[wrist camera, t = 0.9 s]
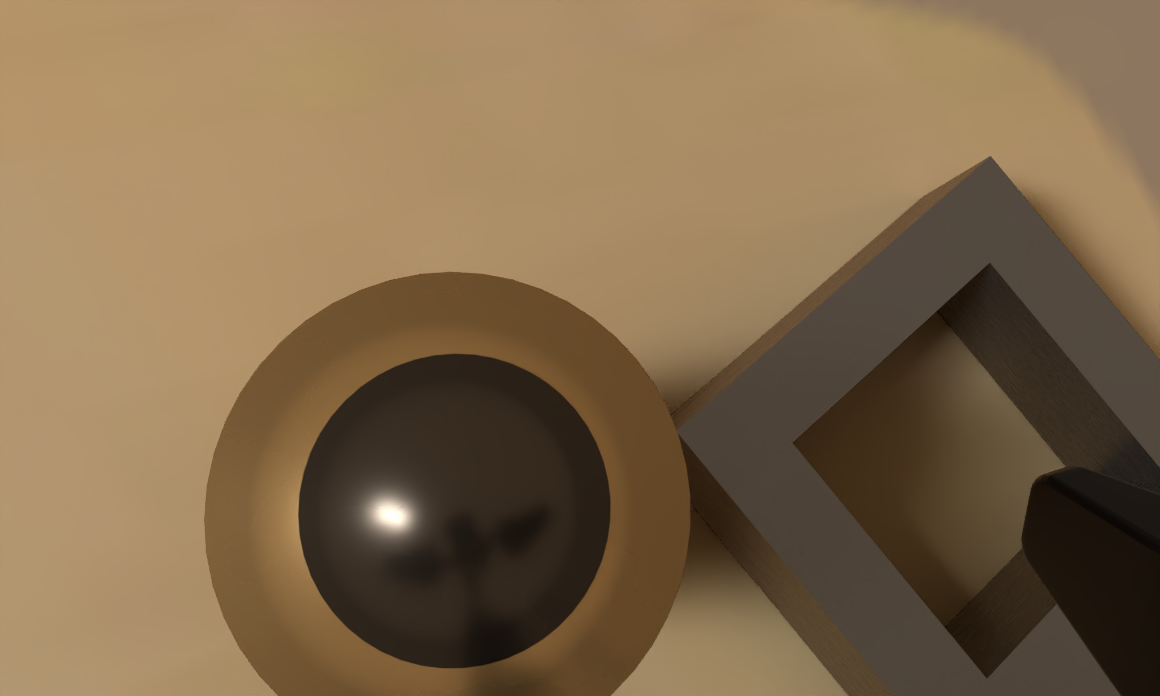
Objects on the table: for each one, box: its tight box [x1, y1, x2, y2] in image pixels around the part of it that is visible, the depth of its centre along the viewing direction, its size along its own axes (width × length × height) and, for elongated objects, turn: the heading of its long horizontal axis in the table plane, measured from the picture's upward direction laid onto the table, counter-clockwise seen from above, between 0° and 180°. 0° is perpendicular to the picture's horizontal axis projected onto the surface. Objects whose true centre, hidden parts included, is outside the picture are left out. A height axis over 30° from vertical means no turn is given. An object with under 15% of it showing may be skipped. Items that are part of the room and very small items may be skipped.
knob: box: [204, 272, 690, 696], centre depth 17 cm, size 5×5×13 cm
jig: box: [671, 156, 1160, 696], centre depth 24 cm, size 14×10×3 cm
